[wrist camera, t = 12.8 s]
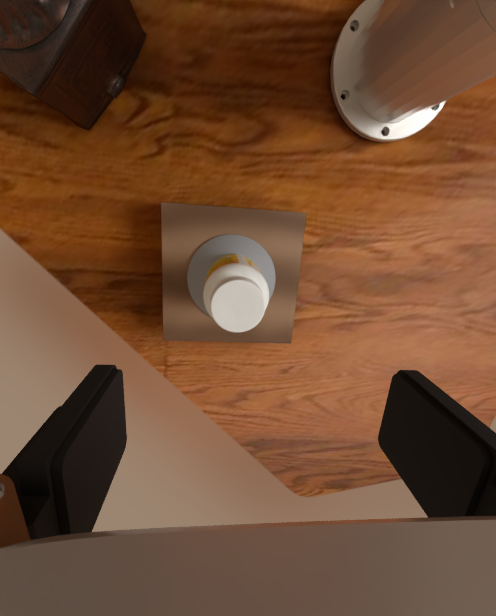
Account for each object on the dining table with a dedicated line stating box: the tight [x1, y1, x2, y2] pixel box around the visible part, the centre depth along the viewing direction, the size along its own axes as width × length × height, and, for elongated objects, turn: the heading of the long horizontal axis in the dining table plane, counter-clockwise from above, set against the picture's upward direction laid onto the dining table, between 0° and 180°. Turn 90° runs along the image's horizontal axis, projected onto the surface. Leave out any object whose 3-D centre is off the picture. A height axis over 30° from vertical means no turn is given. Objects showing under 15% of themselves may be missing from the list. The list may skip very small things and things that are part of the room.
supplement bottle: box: [203, 253, 269, 332], centre depth 26 cm, size 5×5×10 cm
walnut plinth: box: [161, 202, 306, 343], centre depth 33 cm, size 14×14×4 cm
